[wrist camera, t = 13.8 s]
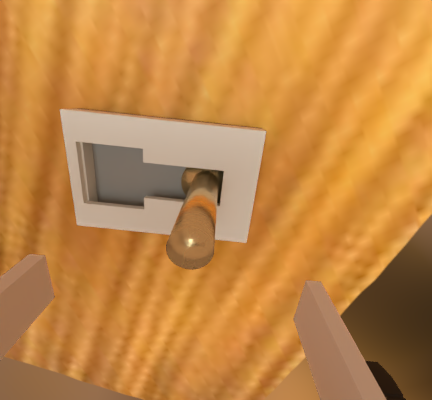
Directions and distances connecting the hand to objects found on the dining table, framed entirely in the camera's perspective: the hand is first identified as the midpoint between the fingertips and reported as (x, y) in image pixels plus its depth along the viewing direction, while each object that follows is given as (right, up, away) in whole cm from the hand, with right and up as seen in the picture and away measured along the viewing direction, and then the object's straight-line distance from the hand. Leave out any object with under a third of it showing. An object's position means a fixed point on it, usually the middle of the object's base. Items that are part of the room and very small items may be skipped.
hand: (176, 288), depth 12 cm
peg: (+1, +7, +18) cm, 19 cm away
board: (-4, +8, +19) cm, 21 cm away
